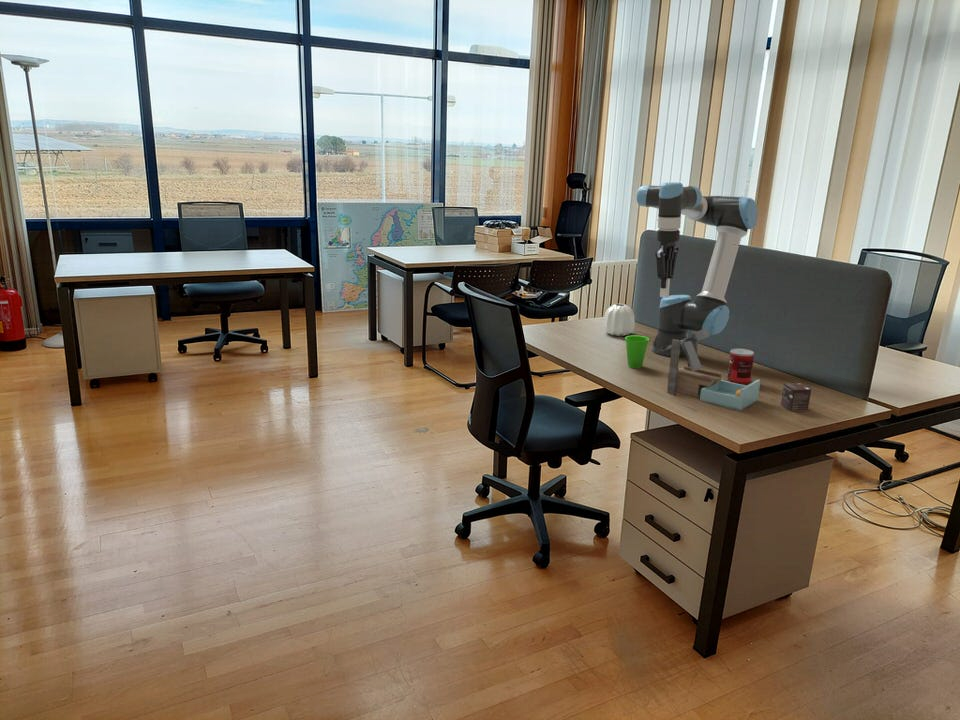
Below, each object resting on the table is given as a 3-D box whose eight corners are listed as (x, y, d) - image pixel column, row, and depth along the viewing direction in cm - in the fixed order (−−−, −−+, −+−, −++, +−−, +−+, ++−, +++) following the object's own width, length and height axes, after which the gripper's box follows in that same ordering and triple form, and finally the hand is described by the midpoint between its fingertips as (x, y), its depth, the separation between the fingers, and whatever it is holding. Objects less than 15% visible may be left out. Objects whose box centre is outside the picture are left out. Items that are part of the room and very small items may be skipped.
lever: (677, 375, 240) (664, 344, 241) (725, 358, 227) (711, 325, 228) (661, 383, 233) (648, 350, 234) (710, 365, 219) (696, 331, 220)
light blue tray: (717, 390, 232) (720, 371, 230) (757, 400, 223) (760, 379, 221) (699, 400, 223) (701, 380, 221) (740, 410, 214) (743, 389, 212)
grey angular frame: (682, 381, 241) (687, 331, 236) (723, 391, 231) (729, 338, 226) (662, 391, 231) (667, 338, 226) (704, 402, 221) (710, 347, 216)
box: (780, 404, 220) (783, 383, 218) (798, 404, 220) (801, 382, 218) (790, 411, 214) (793, 389, 212) (808, 411, 214) (811, 389, 212)
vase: (609, 338, 298) (611, 308, 294) (598, 330, 311) (600, 302, 307) (639, 337, 301) (641, 307, 297) (626, 329, 314) (628, 301, 310)
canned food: (733, 376, 248) (736, 347, 245) (754, 381, 242) (758, 351, 239) (723, 380, 243) (726, 351, 240) (744, 386, 237) (748, 355, 234)
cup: (647, 370, 254) (650, 342, 251) (622, 368, 256) (624, 340, 252) (647, 363, 262) (649, 335, 259) (623, 362, 264) (624, 334, 261)
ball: (742, 385, 221) (752, 394, 219) (735, 394, 223) (745, 402, 222) (737, 388, 218) (747, 397, 216) (730, 397, 220) (739, 405, 219)
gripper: (667, 226, 240) (663, 292, 247) (649, 230, 230) (645, 298, 238) (687, 227, 235) (682, 295, 242) (669, 232, 226) (665, 301, 233)
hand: (664, 296), depth 240 cm, fingers closed
